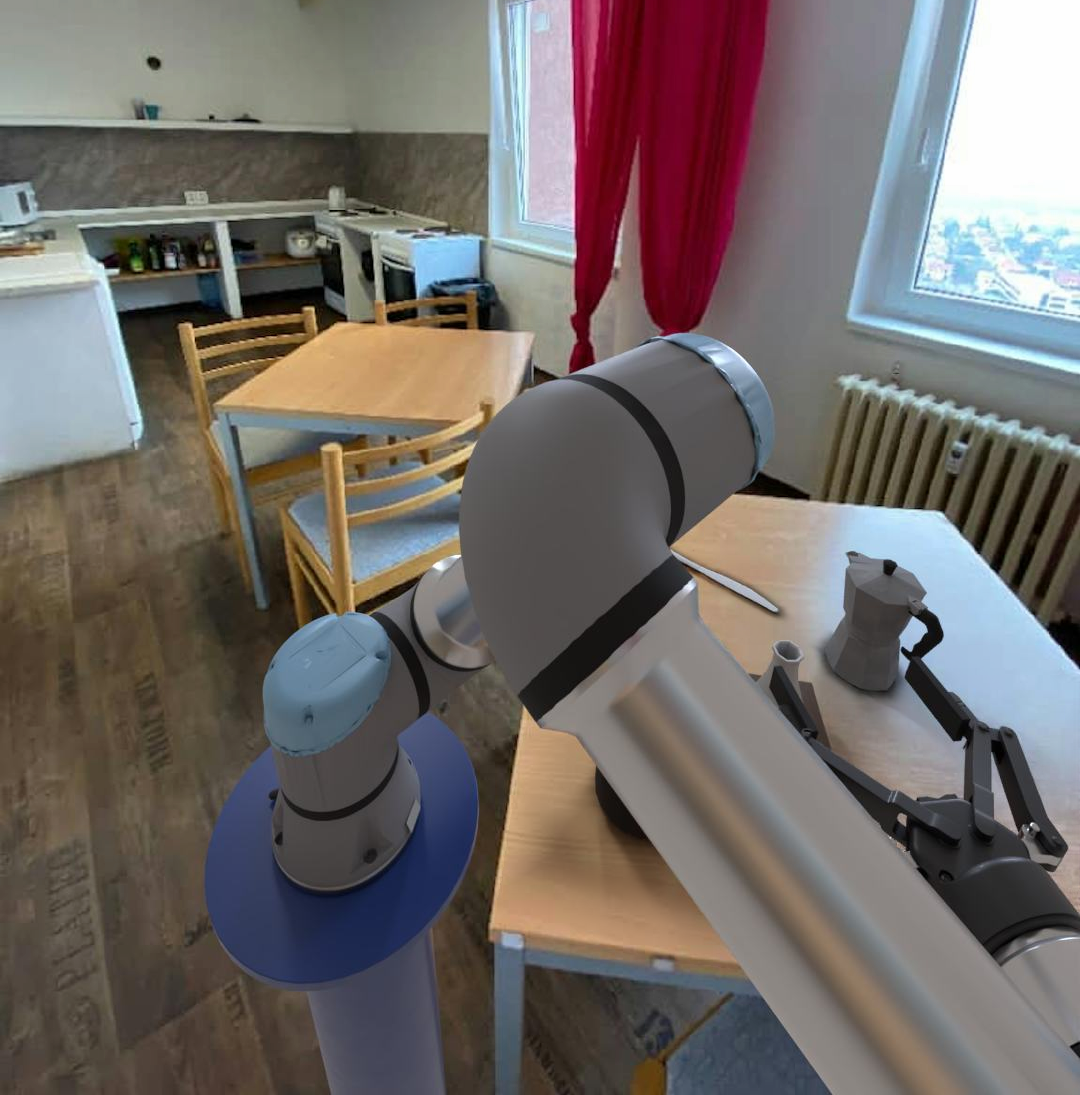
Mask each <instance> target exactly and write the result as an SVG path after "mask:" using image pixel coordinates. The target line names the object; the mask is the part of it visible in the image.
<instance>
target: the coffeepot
mask: <svg viewBox="0 0 1080 1095" xmlns="http://www.w3.org/2000/svg"><path fill="white" fill-rule="evenodd" d="M844 554H845V556H846V557H847V558H848V559H847V560H848V564H849V565H848V566H847V567H846V568H845V575H844V588H843V590H844V591H843V602H842V609H843V611H844V616H843V617H842V618H841V620H840V621H839V623H838V625H837V627H836V628H835V630H834V632H833V634H832V636H831V638H830V639H829V641H828V642H827V644H826V646H825V648H824V650H823V651H824V653H825V657H826V659H827V662H828V664H829V666H830V668H831V669H832V671H833V672H834V673H835V674H836V675H837V676H838V677H839V678H841V679H842V680H844V681H845V682H847V683H848V684H850V685H851V686H854V687H856V688H858V689H861V690H865V691H871V692H881V691H888V690H889V689H890V687H891V686H892V685H893V683H894V682H895V681H896V680H897V679H898V677H899V667H900V666H899V664H900V663H899V662H900V652H901V654H902V655H903V656H904V658H906V660H907V661H909V662H910V660H911V657H918V656H919V657H920V658H921V660H923V658H924V657H925V656H926V655H928V654H929V653H930V652H931V651H932V650H934V648H936V647H937V646H939V645H940V644H941V643H942V642H943V640H944V637H945V632H944V629H943V627H942V624H941V621H940V619H939V616H937V615H936V613H934V612H932V611H931V610H929V609H928V608H929V607H928V606H927V605H926V604H925V603H924V602H922V601H923V600H924V598H925V596H926V595H927V593H928V592H927V591H926V589H925V587H923V585H922V584H921V582H920V581H919V579H918V578H917V576H916V575H915V573H913V572H911V571H909V570H907V569H906V568H904V567H902V566H899V565H898V563H897V562H896V561H894V560H893V559H889V558H885V559H884V558H871V557H869V556H867V555H865V554H863V553H861V552H857V551H855V550H850V551H847V552H844ZM912 618H915V619H916V620H918V621H919V622H921V623H922V624H923V625H924V626H925V627H926V631H927V632H925V633H924V634H923V635H922V637H921V638H920V640H919V641H918V642H915V644H913V646H912V650H911V651H910V650H909V649H907V648H906V647H905V646H901V639H900V636H901V635H902V634H903V633H904V631H905V629H906V628H907V627H908V625H909V623H910V621H911V620H912Z"/></svg>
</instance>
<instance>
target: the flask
mask: <svg viewBox="0 0 1080 1095" xmlns="http://www.w3.org/2000/svg"><path fill="white" fill-rule="evenodd" d="M771 650H772V652H773V655H772V658H771V661H770V663H769V664H768V666H767V668H766V670H765V671H764V672H763V674H761V675H762V676H761V677H760V678H759V679H758V681H757V682H756V683H757V685H758V686H759V687H760V688H761V689H762V690H763V692H764V693H765V694H766V695H767V696H768V697H769V699H770V700H771V701H772V702H773V703H774V704H775V706H776V707H777V708H778V709H779V706H778V704H777V702H776V700H775V698H774V696H773V694H772V692H771V690H770V688H769V685H770V681H771V677H772V673H773V669H774V666H782V667H783V669H784V670H785V672H786V674H787V676H788V678H789V679H790V681H791V683H792V685H793V686H794V688H795V690H796V692H797V694H798V695H799V697H800V699H801V701H802V696H801V691H800V687H799V682H798V681H799V667H800V663H801V662H803V660H804V659H805V655H804V653H803V651H802V649H801V648H800V646H799V645H797V644H796V643H794V642H793V641H791V640H789V639H785V640H784V639H780V640H777V641H776V642H775V643H774V644H772V646H771ZM802 702H803V701H802Z"/></svg>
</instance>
